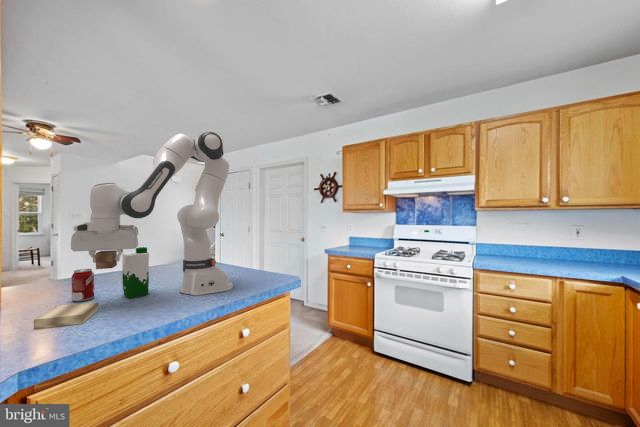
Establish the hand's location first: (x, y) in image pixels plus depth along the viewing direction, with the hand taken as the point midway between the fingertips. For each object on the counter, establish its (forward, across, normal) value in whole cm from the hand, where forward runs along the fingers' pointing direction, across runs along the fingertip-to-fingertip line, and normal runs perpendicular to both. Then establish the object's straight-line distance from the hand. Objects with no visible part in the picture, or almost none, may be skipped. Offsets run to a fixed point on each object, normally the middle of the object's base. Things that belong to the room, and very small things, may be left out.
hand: (106, 261), depth 102 cm
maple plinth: (+17, +7, +11) cm, 21 cm away
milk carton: (+17, -7, -10) cm, 21 cm away
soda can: (+17, +11, -10) cm, 23 cm away
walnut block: (+2, 0, 0) cm, 2 cm away
